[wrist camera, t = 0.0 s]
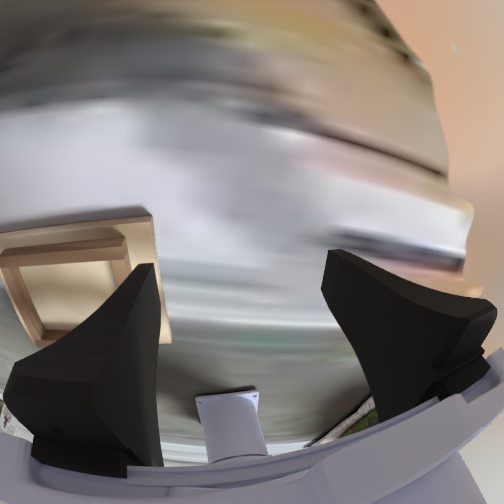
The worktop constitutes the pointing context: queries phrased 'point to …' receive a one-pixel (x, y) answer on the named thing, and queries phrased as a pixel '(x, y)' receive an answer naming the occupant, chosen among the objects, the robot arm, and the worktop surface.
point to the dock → (74, 272)
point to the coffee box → (6, 420)
